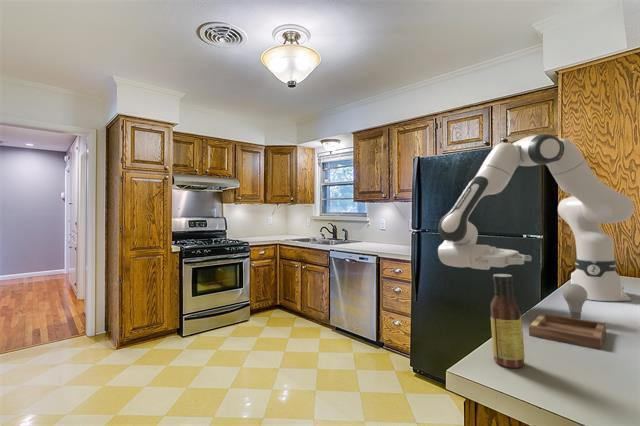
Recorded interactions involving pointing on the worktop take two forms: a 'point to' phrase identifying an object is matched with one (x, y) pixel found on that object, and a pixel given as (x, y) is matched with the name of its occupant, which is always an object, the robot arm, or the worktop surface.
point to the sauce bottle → (506, 324)
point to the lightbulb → (575, 299)
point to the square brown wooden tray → (568, 330)
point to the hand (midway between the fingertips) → (527, 259)
